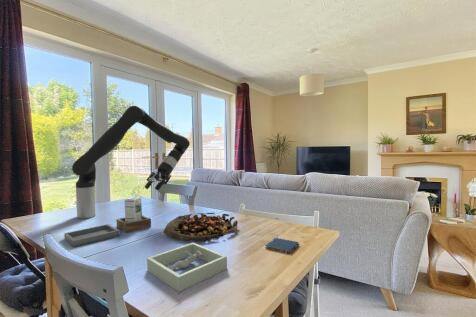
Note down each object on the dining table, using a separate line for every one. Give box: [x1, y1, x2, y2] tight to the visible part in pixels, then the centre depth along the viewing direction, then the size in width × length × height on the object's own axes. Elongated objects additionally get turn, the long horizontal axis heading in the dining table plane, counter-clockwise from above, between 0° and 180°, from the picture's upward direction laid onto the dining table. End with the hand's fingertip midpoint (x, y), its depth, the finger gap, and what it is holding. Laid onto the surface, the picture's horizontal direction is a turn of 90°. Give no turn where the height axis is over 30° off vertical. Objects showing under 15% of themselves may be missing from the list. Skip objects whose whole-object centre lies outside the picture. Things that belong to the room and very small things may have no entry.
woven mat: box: [265, 237, 300, 254], centre depth 100 cm, size 10×11×2 cm
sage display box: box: [146, 242, 228, 293], centre depth 82 cm, size 18×18×4 cm
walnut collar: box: [116, 214, 152, 233], centre depth 128 cm, size 12×12×4 cm
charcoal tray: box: [63, 223, 121, 248], centre depth 113 cm, size 14×18×2 cm
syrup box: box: [123, 196, 143, 223], centre depth 127 cm, size 6×6×14 cm
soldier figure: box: [167, 250, 202, 271], centre depth 84 cm, size 8×5×12 cm
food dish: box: [162, 212, 239, 242], centre depth 122 cm, size 35×33×8 cm
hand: (151, 188), depth 136 cm, fingers open, 8 cm apart
